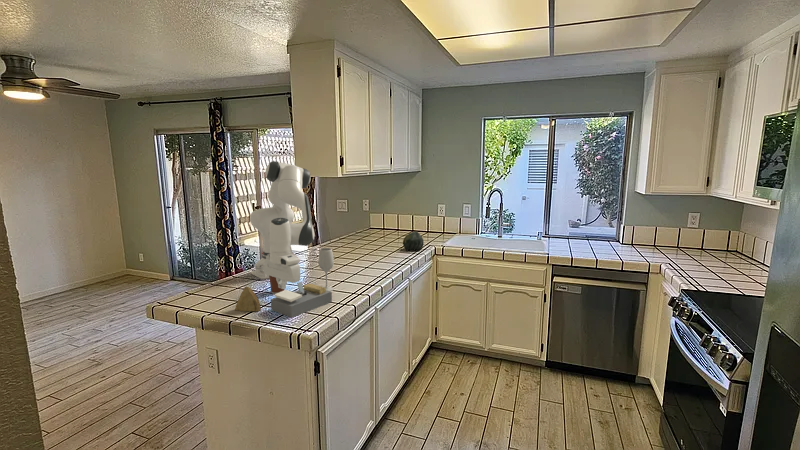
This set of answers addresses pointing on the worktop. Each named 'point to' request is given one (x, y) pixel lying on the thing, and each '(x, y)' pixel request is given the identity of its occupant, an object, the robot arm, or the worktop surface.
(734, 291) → the worktop surface
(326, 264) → the wineglass
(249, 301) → the rock
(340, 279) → the worktop surface
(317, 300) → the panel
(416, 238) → the squash
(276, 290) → the coffee cup
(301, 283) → the paddle
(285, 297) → the white slab
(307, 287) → the gold rectangular block
